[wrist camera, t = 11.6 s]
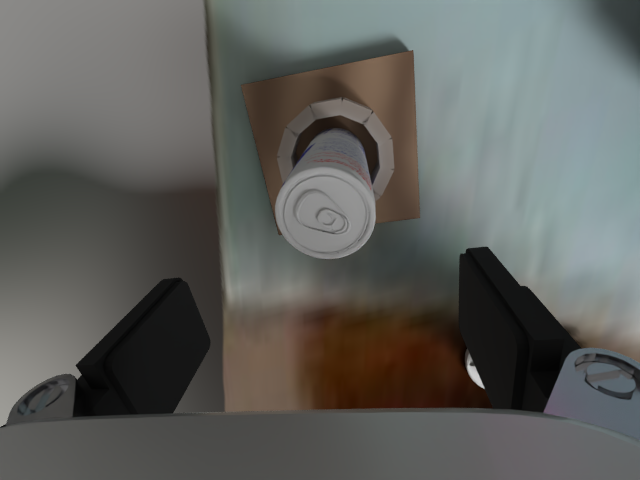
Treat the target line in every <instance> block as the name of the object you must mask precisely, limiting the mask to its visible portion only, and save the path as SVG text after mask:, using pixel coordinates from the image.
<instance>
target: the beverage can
mask: <svg viewBox="0 0 640 480" xmlns="http://www.w3.org/2000/svg"><path fill="white" fill-rule="evenodd" d="M275 215H276V221H277V225H278V227H279V229H280V231H281V233H282V235H283V236H284V238H285V239H286V240H287V241H288V242H289V243H290V244H291V245H292V246H293V247H294V248H296V249H297V250H299V251H300V252H302V253H304V254H306V255H309V256H312V257H315V258H321V259H336V258H341V257H345V256H348V255H350V254H352V253H354V252H355V251H357V250H358V249H360V248H361V247H362V246H363V245H364V244H365V243H366V242H367V240H368V239H369V238H370V236H371V234H372V231H373V229H374V225H375V220H376V212H375V198H374V193H373V189H372V184H371V179H370V174H369V170H368V165H367V160H366V155H365V151H364V147H363V145H362V143H361V141H360V140H359V139H358V137H357V136H356V135H354V134H353V133H351V132H350V131H348V130H345V129H342V128H330V129H326V130H323V131H322V132H320V133H318V134H317V135H316V136H315V137H314V138H313V139H312V140H311V142H310V144H309V145H308V147H307V148H306V150H305V151H304V153H303V154H302V156H301V157H300V159H299V160H298V162H297V164H296V165H295V167H294V168H293V170H292V171H291V173H290V174H289V176H288V177H287V179H286V180H285V182H284V184H283V185H282V187H281V189H280V192H279V194H278V196H277V199H276V204H275Z"/></svg>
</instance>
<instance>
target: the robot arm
mask: <svg viewBox="0 0 640 480" xmlns="http://www.w3.org/2000/svg"><path fill="white" fill-rule="evenodd" d="M459 328H460V332H461V335H462V337H463V340H464V342H465V344H466V346H467V350H466V353H465V366H466V369H467V371H468V374H469V376H470V377H471V379H472V380H473V381H474V382H475V383H476V384H477V385H479V386H480V387H482V388H484V389H485V390H486V393H487V395H488V397H489V400H490V402H491V404H492V407H493V409H482V408H389V409H334V410H286V411H244V412H208V413H207V412H204V413H173V412H174V410H175V409H176V407H177V405H178V403H179V401H180V400H181V398H182V396H183V394H184V393H185V391H186V389H187V387H188V385H189V384H190V382H191V380H192V378H193V377H194V375H195V373H196V371H197V369H198V368H199V366H200V364H201V362H202V361H203V359H204V357H205V355H206V353H207V352H208V350H209V347H210V338H209V335H208V333H207V330H206V328H205V325H204V323H203V320H202V318H201V316H200V313H199V311H198V308H197V306H196V303H195V301H194V298H193V296H192V293H191V291H190V288H189V286H188V284H187V283H186V282H185V281H183V280H182V279H181V278H171V279H163V280H162V281H160V282H159V284H157V285H156V286H155V287H154V288H153V289H152V290H151V291H150V292H149V293H148V294H147V295H146V296H145V297H144V298H143V299H142V300H141V301H140V302H139V303H138V304H137V305H136V306H135V307H134V308H133V309H132V310H131V311H130V312H129V313H128V314H127V315H126V316H125V317H124V318H123V319H122V320H121V321H120V322H119V323H118V324H117V325H116V326H115V327H114V328H113V329H112V330H111V331H110V332H109V333H108V334H107V335H106V336H105V337H104V338H103V339H102V340H101V341H100V342H99V343H98V344H97V345H96V346H95V347H94V348H93V349H92V350H91V351H90V352H89V353H88V354H87V355H86V356H85V357H84V358H83V359H82V360H81V361H79V363H78V364H76V367H77V368H78V369H79V371H80V373H81V374H82V375H81V376H80V378H79V379H78V380H77V379H76V378H75V376H73V375H71V374H62V375H58V376H55V377H52V378H50V379H47V380H45V381H44V382H42V383H40V384H38V385H36V386H35V387H34V388H32V389H31V390H29V391H28V392H27V393H26V394H24V395H23V396H22V397H21V398H20V399H19V400H18V401H17V402H16V404H15V405H14V406H13V408H12V409H11V411H10V414H9V417H8V420H7V423H6V424H5V425H3V426H1V427H0V480H640V363H638V362H636V361H635V360H633V359H631V358H629V357H627V356H624V355H622V354H619V353H617V352H613V351H609V350H605V349H597V348H584V349H582V348H581V347H580V346H579V345H578V344H577V343H576V342H575V340H574V339H573V338H572V337H571V336H570V335H569V333H568V332H567V331H566V330H565V329H564V328H563V327H562V325H561V324H560V323H559V322H558V321H557V320H556V319H555V317H554V316H553V315H552V314H551V313H550V312H549V311H548V309H547V308H546V307H545V306H544V305H543V304H542V302H541V301H540V300H539V299H538V298H537V297H536V296H535V294H534V293H533V292H532V291H531V290H530V289H529V288H528V287H526V286H520V285H519V284H518V282H517V281H516V280H515V279H514V278H513V276H512V275H511V274H510V273H509V272H508V271H507V269H506V268H505V267H504V266H503V265H502V263H501V262H500V261H499V260H498V259H497V257H496V256H495V255H494V254H493V253H492V251H491V250H490V249H489V248H488V247H478V248H468V249H467V250H466V253H464V254H460V264H459Z"/></svg>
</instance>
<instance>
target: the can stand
mask: <svg viewBox="0 0 640 480" xmlns="http://www.w3.org/2000/svg"><path fill="white" fill-rule="evenodd" d="M241 88H242V92H243V96H244V99H245V103H246V107H247V111H248V115H249V119H250V123H251V127H252V131H253V135H254V139H255V143H256V147H257V151H258V155H259V159H260V163H261V167H262V171H263V174H264V178H265V182H266V186H267V190H268V194H269V198H270V202H271V206H272V210H273V214H274V218H275V222H276V226H277V230H278V234H279V235H282V233H281V231H280V229H279V227H278V225H277V221H276V215H275V204H276V199H277V196H278V194H279V192H280V189H281V187H282V185H283V184H284V182H285V180H286V179H287V177H288V176H289V174H290V173H291V171H292V170H293V168H294V167H295V165H296V164H297V162H298V160H299V159H300V157H301V156H302V154H303V153H304V151H305V150H306V148H307V147H308V145H309V144H310V142H311V140H312V139H313V138H314V137H315V136H316V135H317V134H318V133H320V132H322V131H323V130H326V129H330V128H342V129H345V130H348V131H350V132H351V133H353V134H354V135H356V136H357V137H358V139H359V140H360V141H361V143H362V145H363V147H364V151H365V155H366V160H367V165H368V170H369V174H370V179H371V184H372V189H373V193H374V198H375V212H376V220H375V223H383V222H391V221H399V220H407V219H415V218H420V207H419V182H418V157H417V131H416V106H415V81H414V55H413V50H412V51H407V52H402V53H397V54H392V55H387V56H382V57H377V58H372V59H367V60H362V61H357V62H352V63H347V64H342V65H337V66H332V67H327V68H322V69H318V70H313V71H308V72H303V73H298V74H293V75H288V76H283V77H278V78H273V79H268V80H263V81H258V82H253V83H248V84H243V85H241Z"/></svg>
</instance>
